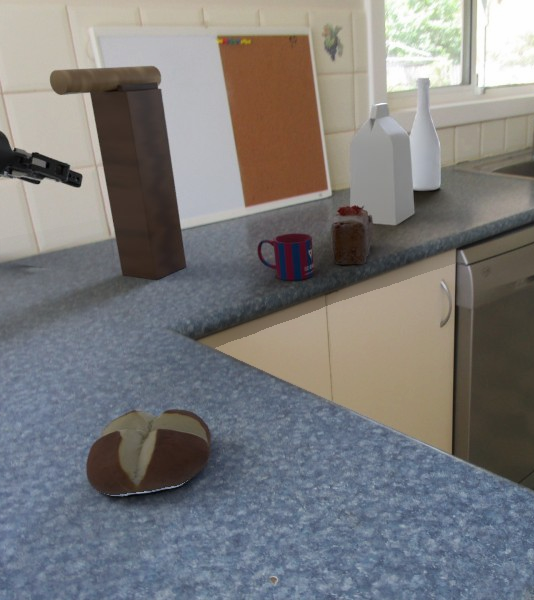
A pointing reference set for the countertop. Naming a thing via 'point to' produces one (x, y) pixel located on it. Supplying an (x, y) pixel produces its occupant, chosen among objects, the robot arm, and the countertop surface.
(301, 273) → the mug
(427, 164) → the wine bottle
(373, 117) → the milk
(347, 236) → the food item
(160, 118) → the stand
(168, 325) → the countertop surface
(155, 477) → the bread
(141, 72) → the rolling pin
